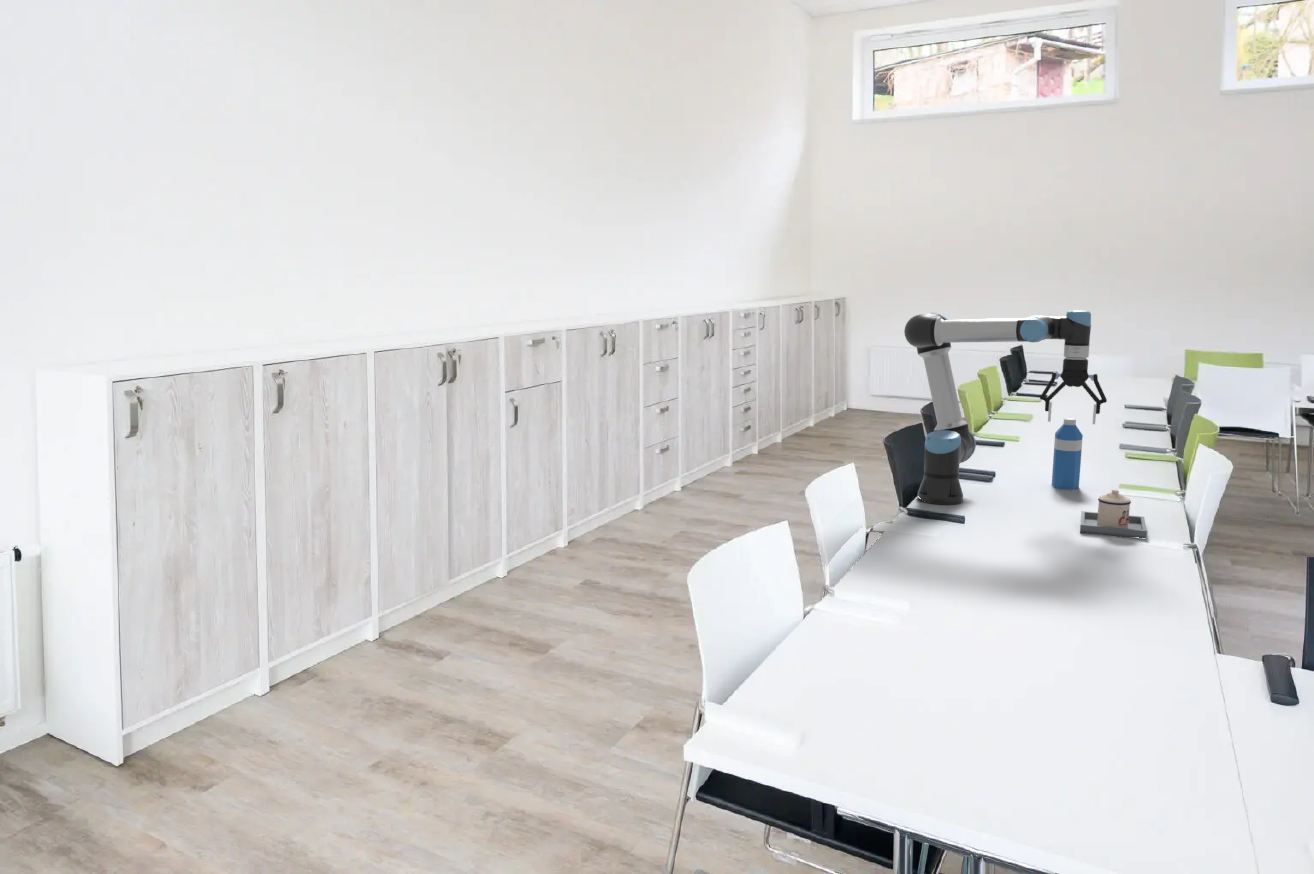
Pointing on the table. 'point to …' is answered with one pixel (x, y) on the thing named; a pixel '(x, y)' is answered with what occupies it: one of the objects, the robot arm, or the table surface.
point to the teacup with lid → (1113, 510)
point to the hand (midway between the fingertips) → (1071, 422)
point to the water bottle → (1067, 456)
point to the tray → (1090, 527)
